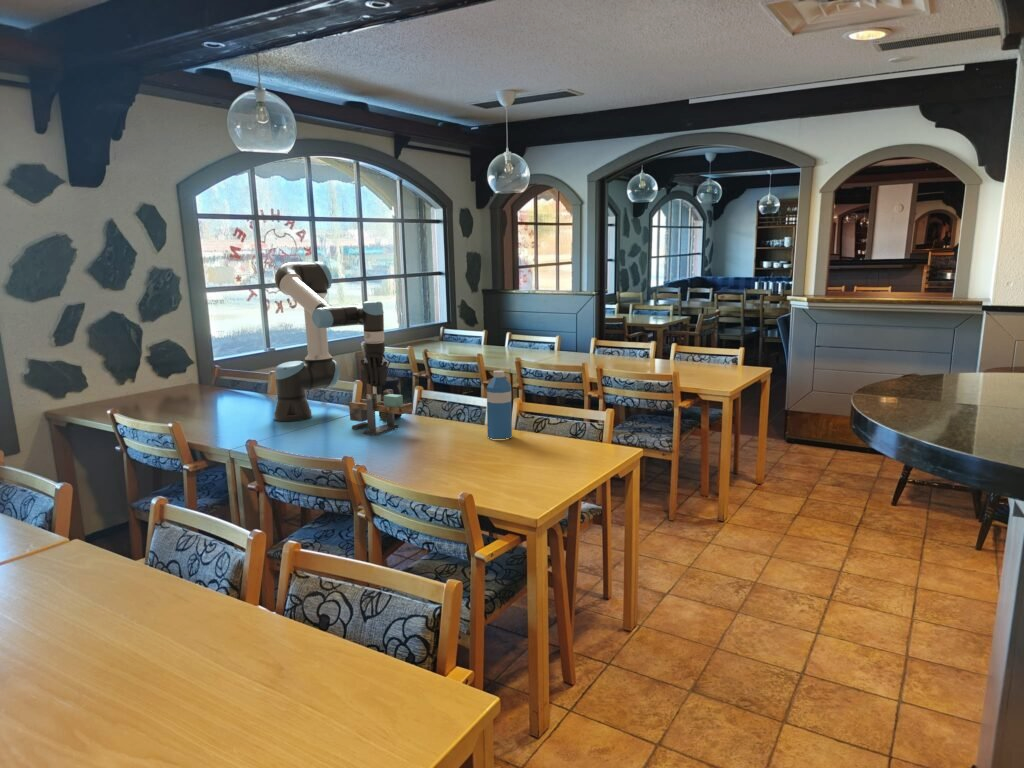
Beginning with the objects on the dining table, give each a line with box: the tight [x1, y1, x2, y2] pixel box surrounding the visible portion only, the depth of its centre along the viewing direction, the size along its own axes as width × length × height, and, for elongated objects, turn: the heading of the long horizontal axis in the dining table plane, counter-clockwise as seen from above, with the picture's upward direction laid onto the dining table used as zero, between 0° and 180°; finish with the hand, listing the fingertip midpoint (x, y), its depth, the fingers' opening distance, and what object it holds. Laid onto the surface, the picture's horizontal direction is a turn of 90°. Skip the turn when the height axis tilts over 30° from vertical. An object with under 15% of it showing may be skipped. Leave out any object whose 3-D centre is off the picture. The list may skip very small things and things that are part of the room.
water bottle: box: [486, 369, 513, 439], centre depth 250 cm, size 9×9×25 cm
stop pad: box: [351, 421, 368, 431], centre depth 270 cm, size 3×7×1 cm, turn 150°
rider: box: [383, 394, 404, 408], centre depth 259 cm, size 6×4×5 cm, turn 60°
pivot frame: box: [363, 389, 400, 436], centre depth 263 cm, size 6×14×15 cm, turn 150°
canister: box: [378, 375, 403, 421], centre depth 282 cm, size 10×10×18 cm
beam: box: [348, 391, 414, 423], centre depth 263 cm, size 26×9×12 cm, turn 60°
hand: (377, 402), depth 264 cm, fingers closed
